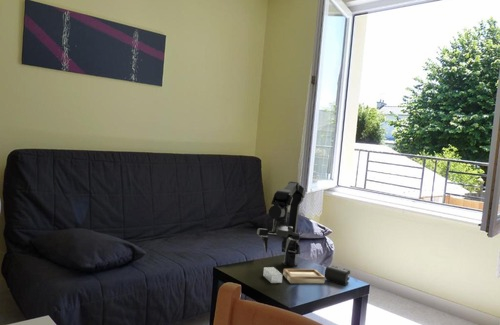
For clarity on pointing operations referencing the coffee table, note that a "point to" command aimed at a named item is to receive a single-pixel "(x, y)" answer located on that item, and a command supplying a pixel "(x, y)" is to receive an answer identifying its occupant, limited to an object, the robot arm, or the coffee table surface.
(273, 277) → the block
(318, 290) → the coffee table surface
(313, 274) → the beech stand
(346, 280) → the end cap
